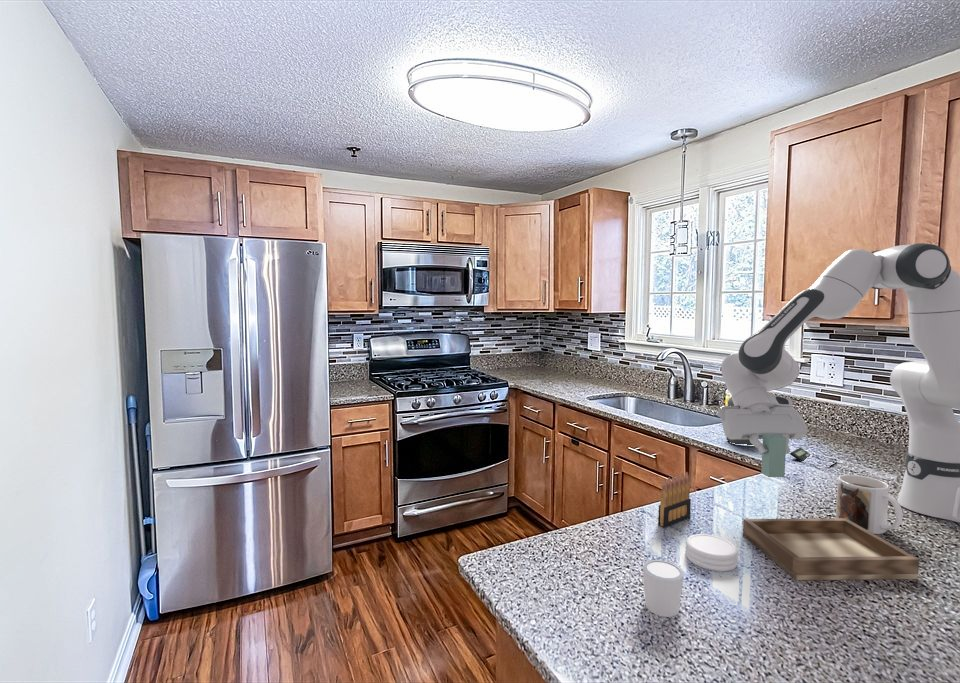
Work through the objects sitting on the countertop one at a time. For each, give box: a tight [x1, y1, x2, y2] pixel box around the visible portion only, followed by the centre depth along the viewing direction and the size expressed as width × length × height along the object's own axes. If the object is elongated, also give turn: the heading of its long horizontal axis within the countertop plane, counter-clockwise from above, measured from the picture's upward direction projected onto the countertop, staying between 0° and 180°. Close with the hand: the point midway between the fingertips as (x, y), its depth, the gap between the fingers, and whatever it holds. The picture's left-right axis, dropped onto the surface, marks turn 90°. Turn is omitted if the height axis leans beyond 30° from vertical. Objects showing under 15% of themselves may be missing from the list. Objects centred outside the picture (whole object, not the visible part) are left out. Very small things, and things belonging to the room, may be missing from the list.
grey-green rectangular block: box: [760, 434, 787, 478], centre depth 120 cm, size 4×3×10 cm
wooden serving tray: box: [742, 517, 920, 581], centre depth 103 cm, size 24×18×4 cm
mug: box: [835, 474, 904, 535], centre depth 116 cm, size 10×12×11 cm
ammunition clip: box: [657, 471, 692, 529], centre depth 119 cm, size 11×2×12 cm, turn 123°
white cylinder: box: [642, 559, 685, 618], centre depth 85 cm, size 7×7×7 cm
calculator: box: [789, 447, 812, 462], centre depth 167 cm, size 9×12×3 cm
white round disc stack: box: [684, 533, 739, 572], centre depth 102 cm, size 10×10×4 cm
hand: (775, 452), depth 119 cm, fingers closed on grey-green rectangular block, 4 cm apart
